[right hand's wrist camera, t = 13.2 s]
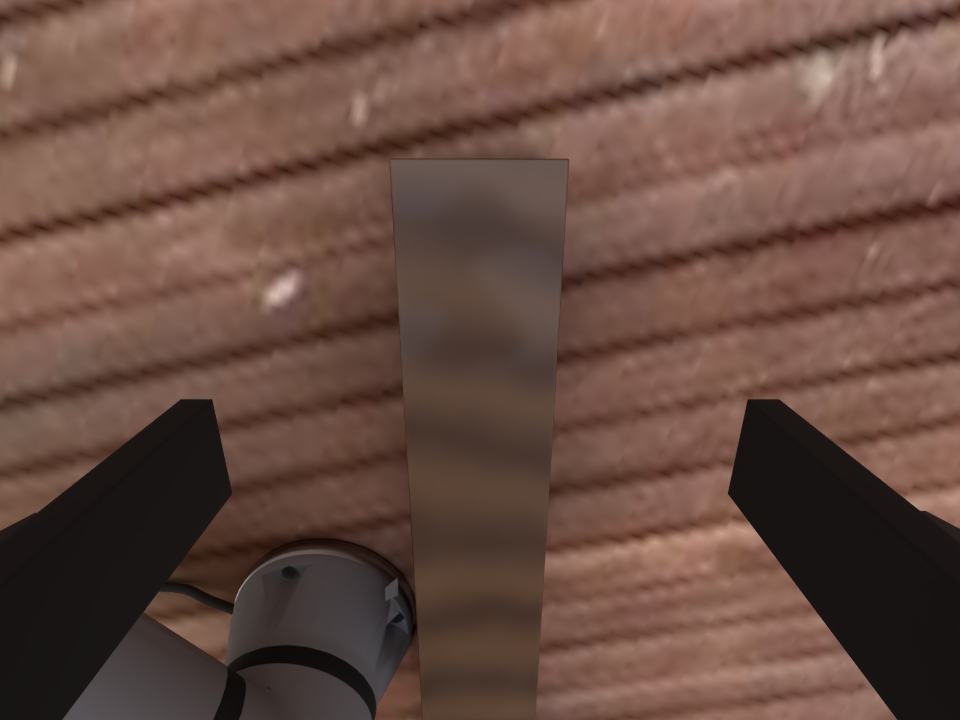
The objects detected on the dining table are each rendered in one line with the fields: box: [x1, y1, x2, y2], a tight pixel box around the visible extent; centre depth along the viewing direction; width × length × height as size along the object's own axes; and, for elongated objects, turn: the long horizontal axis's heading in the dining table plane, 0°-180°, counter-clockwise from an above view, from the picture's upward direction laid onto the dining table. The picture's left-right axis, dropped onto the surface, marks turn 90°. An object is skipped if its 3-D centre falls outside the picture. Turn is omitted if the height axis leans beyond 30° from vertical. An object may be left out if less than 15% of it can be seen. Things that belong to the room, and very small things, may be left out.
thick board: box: [389, 159, 569, 720], centre depth 41 cm, size 71×9×8 cm, turn 0°
